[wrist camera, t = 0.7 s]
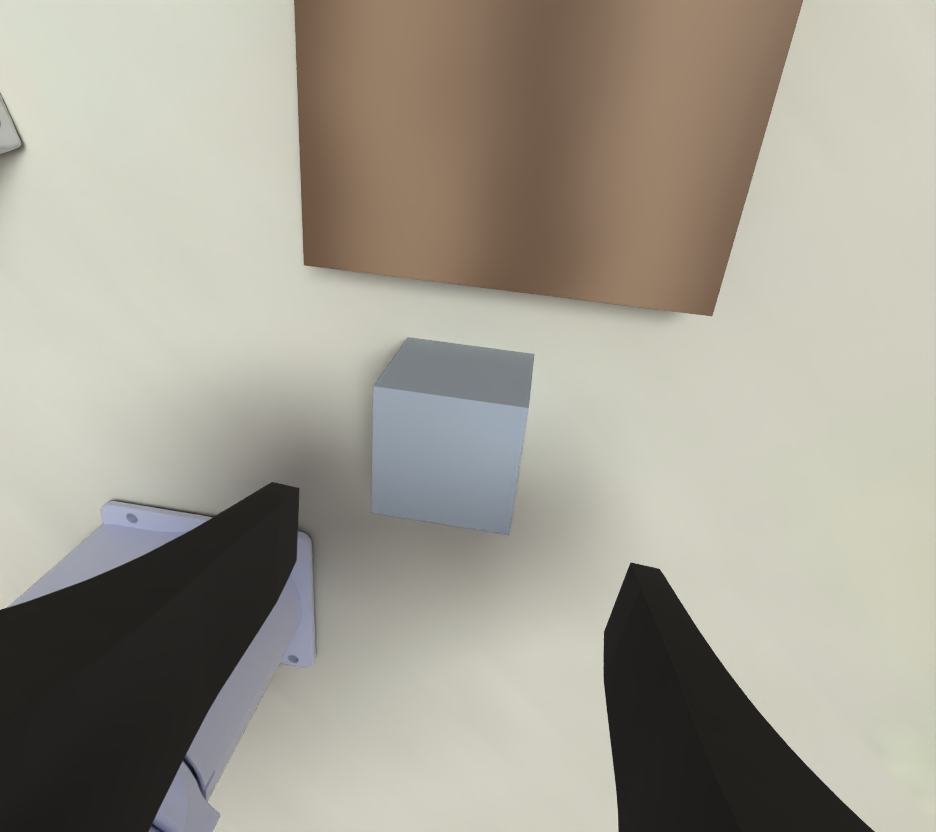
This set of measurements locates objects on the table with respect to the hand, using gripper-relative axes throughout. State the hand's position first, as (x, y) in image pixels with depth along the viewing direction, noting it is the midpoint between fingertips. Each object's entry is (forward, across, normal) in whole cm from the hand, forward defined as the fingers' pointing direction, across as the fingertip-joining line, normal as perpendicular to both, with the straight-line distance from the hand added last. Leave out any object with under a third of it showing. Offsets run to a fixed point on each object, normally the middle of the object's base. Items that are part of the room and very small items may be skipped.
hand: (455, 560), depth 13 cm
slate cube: (+10, +1, +1) cm, 10 cm away
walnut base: (+10, +1, -10) cm, 14 cm away
